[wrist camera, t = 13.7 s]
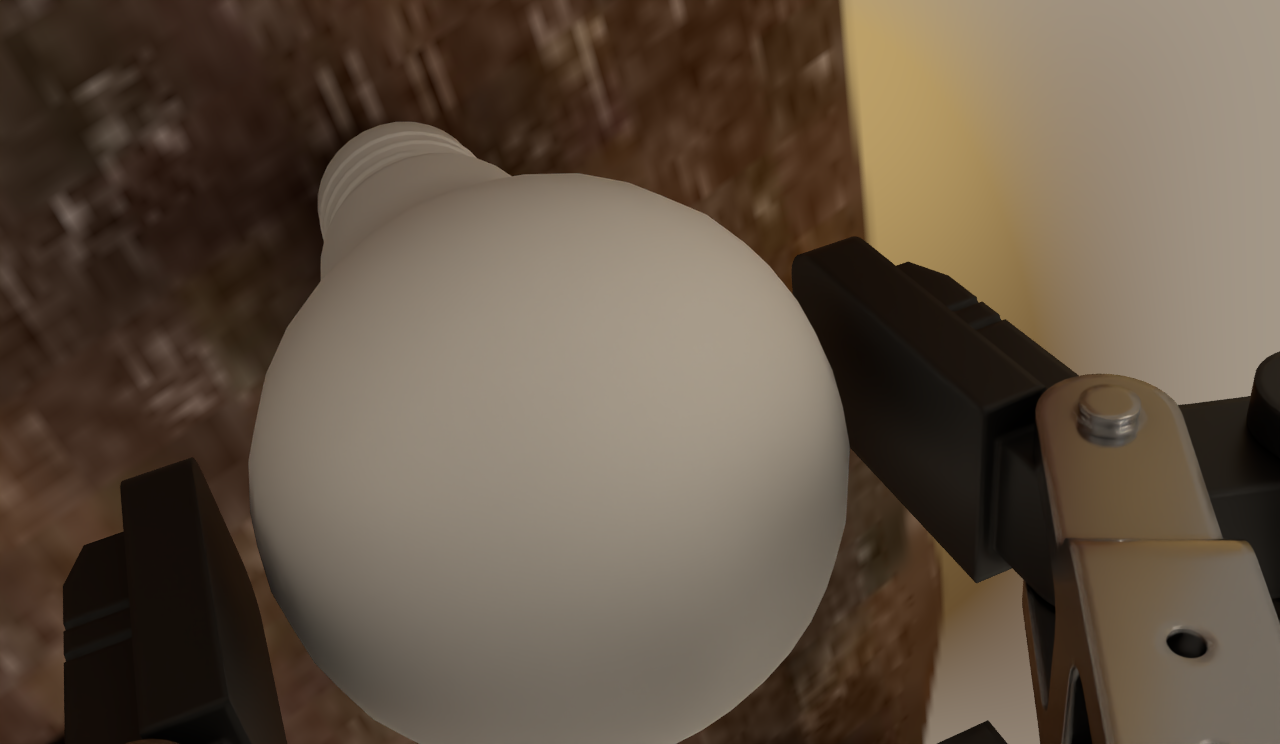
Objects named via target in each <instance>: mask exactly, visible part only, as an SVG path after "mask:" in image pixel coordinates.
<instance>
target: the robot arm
mask: <svg viewBox="0 0 1280 744" xmlns="http://www.w3.org/2000/svg"><path fill="white" fill-rule="evenodd" d="M792 288H793V296H794V297H795V298H796V299H797V301H798V302H799V304H800V306H801V308H802V310H803V311H804V313H805V315H806V317H807V318H808V320H809V322H810V324H811V326H812V327H813V329H814V331H815V333H816V335H817V337H818V340H819V342H820V344H821V346H822V348H823V351H824V353H825V355H826V357H827V359H828V362H829V364H830V366H831V368H832V370H833V374H834V377H835V381H836V384H837V388H838V391H839V395H840V398H841V402H842V406H843V411H844V416H845V422H846V427H847V433H848V439H849V444H850V448H851V449H852V450H853V451H854V452H855V453H856V454H857V456H858V457H859V458H860V459H861V460H862V461H863V462H864V463H865V464H866V465H867V466H868V467H869V468H870V470H871V471H872V472H873V473H874V474H875V475H876V476H877V477H878V478H879V479H880V480H881V481H882V482H883V484H884V485H885V486H886V487H887V488H888V489H889V490H890V491H891V492H892V493H893V494H894V495H895V496H896V498H897V499H898V500H899V501H900V502H901V503H902V504H903V505H904V506H905V507H906V508H907V509H908V510H909V512H910V513H911V514H912V515H913V516H914V517H915V518H916V519H917V520H918V521H919V522H920V523H921V524H922V525H923V527H924V528H925V529H926V530H927V531H928V532H929V533H930V534H931V535H932V536H933V537H934V538H935V539H936V541H937V542H938V543H939V544H940V545H941V546H942V547H943V548H944V549H945V550H946V551H947V552H948V553H949V555H950V556H951V557H953V559H954V560H955V561H956V562H957V563H958V564H959V565H960V566H961V567H962V568H963V570H964V571H965V572H966V573H967V574H968V575H969V576H970V577H971V578H972V579H973V580H974V581H975V583H979V582H981V581H983V580H986V579H988V578H990V577H993V576H995V575H997V574H1000V573H1002V572H1004V571H1007V570H1009V569H1011V568H1013V569H1014V570H1015V571H1016V572H1017V573H1018V574H1019V575H1020V576H1021V577H1022V578H1023V579H1024V581H1023V595H1022V596H1023V597H1022V606H1023V615H1024V622H1025V630H1026V637H1027V645H1028V652H1029V659H1030V667H1031V675H1032V682H1033V690H1034V697H1035V704H1036V712H1037V720H1038V728H1039V736H1040V744H1280V352H1277V353H1275V354H1273V355H1271V356H1269V357H1267V358H1266V359H1265V360H1264V361H1263V362H1262V363H1261V364H1260V365H1259V367H1258V368H1257V370H1256V373H1255V378H1254V382H1253V387H1252V393H1251V396H1248V397H1241V398H1233V399H1225V400H1217V401H1210V402H1202V403H1195V404H1185V405H1177V404H1176V403H1175V401H1174V400H1173V399H1172V398H1171V397H1170V396H1168V395H1167V394H1166V393H1165V392H1163V391H1162V390H1160V389H1158V388H1157V387H1155V386H1152V385H1151V384H1149V383H1146V382H1144V381H1141V380H1137V379H1134V378H1130V377H1126V376H1120V375H1112V374H1087V375H1081V376H1079V375H1077V374H1076V373H1075V372H1073V371H1072V370H1071V369H1070V368H1068V367H1067V366H1066V365H1064V364H1063V363H1062V362H1060V361H1059V360H1058V359H1056V358H1055V357H1054V356H1053V355H1051V354H1050V353H1048V352H1047V351H1046V350H1045V349H1043V348H1042V347H1041V346H1040V345H1038V344H1037V343H1036V342H1034V341H1033V340H1031V339H1030V338H1029V337H1028V336H1026V335H1025V334H1024V333H1023V332H1021V331H1020V330H1018V329H1017V328H1016V327H1015V326H1013V325H1012V324H1011V323H1010V322H1008V321H1007V320H1001V319H1000V315H999V314H998V313H996V312H995V311H994V310H993V309H991V308H990V307H989V306H987V305H986V304H985V303H983V302H980V303H978V301H977V297H976V296H974V295H973V294H971V293H970V292H969V291H968V290H966V289H965V288H964V287H963V286H961V285H960V284H959V283H957V282H956V281H955V280H953V279H952V278H951V277H949V276H948V275H945V274H942V273H939V272H936V271H934V270H930V269H928V268H925V267H922V266H919V265H916V264H913V263H910V262H906V263H903V264H900V265H897V266H895V265H894V264H893V263H892V262H890V261H889V260H888V259H887V258H885V257H884V256H883V255H882V254H880V253H879V252H878V251H877V250H875V249H874V248H873V247H872V246H870V245H869V244H868V243H867V242H865V241H864V240H863V239H861V238H859V237H850V238H847V239H844V240H841V241H838V242H835V243H832V244H829V245H826V246H823V247H820V248H817V249H814V250H812V251H809V252H806V253H803V254H800V255H797V256H796V257H795V259H794V261H793V264H792ZM120 489H121V503H122V516H123V529H124V532H121V533H118V534H115V535H113V536H110V537H107V538H104V539H101V540H98V541H95V542H92V543H89V544H87V545H84V546H83V548H82V550H81V552H80V554H79V556H78V558H77V560H76V562H75V564H74V566H73V568H72V570H71V571H70V573H69V575H68V577H67V579H66V581H65V583H64V585H63V624H64V626H65V629H66V631H64V656H65V659H66V662H65V663H64V713H65V744H287V741H286V736H285V731H284V727H283V722H282V717H281V712H280V707H279V702H278V697H277V692H276V687H275V682H274V678H273V673H272V668H271V663H270V658H269V653H268V648H267V643H266V638H265V633H264V629H263V624H262V619H261V615H260V611H259V607H258V604H257V600H256V597H255V594H254V591H253V588H252V585H251V582H250V579H249V577H248V574H247V571H246V569H245V566H244V564H243V562H242V559H241V557H240V555H239V553H238V551H237V548H236V546H235V544H234V542H233V539H232V537H231V535H230V533H229V531H228V528H227V526H226V524H225V522H224V519H223V517H222V515H221V513H220V511H219V508H218V506H217V504H216V502H215V499H214V497H213V495H212V493H211V491H210V488H209V486H208V484H207V482H206V479H205V477H204V475H203V473H202V471H201V469H200V467H199V465H198V463H197V462H196V460H195V459H194V458H193V457H192V458H189V459H186V460H183V461H180V462H177V463H174V464H171V465H168V466H165V467H162V468H159V469H156V470H153V471H150V472H147V473H144V474H141V475H138V476H135V477H132V478H129V479H126V480H123V481H122V482H121V486H120ZM938 744H1007V743H1006V741H1005V740H1004V739H1003V738H1002V737H1001V735H1000V734H999V733H998V732H997V730H995V728H994V727H993V726H992V724H991V723H990V722H989V721H986V722H983V723H981V724H979V725H977V726H975V727H972V728H970V729H968V730H966V731H964V732H962V733H959V734H957V735H955V736H953V737H950V738H948V739H946V740H944V741H942V742H940V743H938Z"/></svg>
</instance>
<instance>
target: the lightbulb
mask: <svg viewBox="0 0 1280 744" xmlns="http://www.w3.org/2000/svg"><path fill="white" fill-rule="evenodd" d="M318 215H319V219H320V227H321V232H322V237H323V240H324V245H323V249H322V254H321V281H320V283H319V284H318V286H317V287H316V288H315V290H314V291H313V292H312V294H311V295H310V297H309V298H308V299H307V301H306V302H305V303H304V305H303V306H302V308H301V309H300V310H299V312H298V313H297V314H296V316H295V317H294V318H293V320H292V321H291V323H290V324H289V325H288V327H287V329H286V331H285V333H284V336H283V338H282V340H281V342H280V344H279V347H278V349H277V351H276V353H275V355H274V357H273V360H272V362H271V364H270V366H269V368H268V371H267V373H266V375H265V380H264V384H263V389H262V394H261V399H260V404H259V408H258V413H257V418H256V423H255V428H254V433H253V439H252V445H251V450H250V456H249V461H248V465H249V493H250V514H251V518H252V523H253V528H254V533H255V537H256V542H257V546H258V550H259V553H260V556H261V560H262V563H263V566H264V570H265V573H266V576H267V579H268V583H269V586H270V589H271V592H272V594H273V596H274V597H275V599H276V601H277V603H278V604H279V606H280V608H281V609H282V611H283V613H284V614H285V616H286V618H287V620H288V621H289V623H290V625H291V626H292V628H293V629H294V631H295V633H296V634H297V636H298V637H299V639H300V641H301V642H302V644H303V645H304V647H305V648H306V650H307V652H308V653H309V655H310V656H311V658H312V659H313V661H314V663H315V664H316V665H317V666H318V667H319V668H320V669H321V670H322V671H323V672H324V673H325V674H326V675H327V676H328V677H329V678H330V679H331V680H332V681H333V682H334V683H335V684H336V685H337V686H338V687H339V688H340V689H341V690H342V691H343V692H344V693H345V694H346V695H347V696H348V697H349V698H351V699H352V700H353V701H354V702H355V703H356V704H357V705H358V706H359V707H360V708H362V709H363V710H364V711H365V712H366V713H367V714H368V715H369V716H370V717H371V718H372V719H374V720H375V721H377V722H379V723H381V724H383V725H385V726H387V727H388V728H390V729H392V730H394V731H396V732H398V733H400V734H402V735H403V736H405V737H407V738H409V739H411V740H413V741H415V742H417V743H419V744H676V743H678V742H680V741H682V740H684V739H686V738H688V737H690V736H692V735H694V734H696V733H698V732H700V731H701V730H703V729H704V728H706V727H707V726H709V725H710V724H712V723H713V722H715V721H716V720H718V719H719V718H721V717H722V716H724V715H725V714H727V713H728V712H729V711H731V710H732V709H733V708H735V707H736V706H737V705H738V704H739V703H740V702H741V701H743V700H744V699H745V698H746V697H747V696H748V695H749V694H751V693H752V692H753V691H754V690H755V689H756V688H758V687H759V686H760V685H761V684H762V683H763V682H764V681H765V680H766V679H767V678H768V677H769V676H770V675H771V674H772V672H773V671H774V670H775V669H776V668H777V667H778V666H779V665H780V663H781V662H782V661H783V660H784V659H785V658H786V657H787V656H788V654H789V653H790V652H791V651H792V649H793V648H794V646H795V645H796V643H797V642H798V640H799V639H800V637H801V636H802V634H803V633H804V631H805V630H806V628H807V627H808V625H809V624H810V622H811V621H812V618H813V616H814V614H815V612H816V610H817V608H818V606H819V603H820V601H821V599H822V597H823V595H824V593H825V590H826V588H827V585H828V582H829V579H830V576H831V573H832V570H833V567H834V563H835V560H836V557H837V553H838V549H839V545H840V542H841V538H842V534H843V530H844V526H845V523H846V508H847V490H848V472H849V453H850V444H849V439H848V433H847V427H846V422H845V416H844V411H843V406H842V402H841V398H840V395H839V391H838V388H837V384H836V381H835V377H834V374H833V370H832V368H831V366H830V364H829V362H828V359H827V357H826V355H825V353H824V351H823V348H822V346H821V344H820V342H819V340H818V337H817V335H816V333H815V331H814V329H813V327H812V326H811V324H810V322H809V320H808V318H807V317H806V315H805V313H804V311H803V310H802V308H801V306H800V304H799V302H798V301H797V299H796V298H795V297H794V296H793V294H792V293H791V292H790V291H789V290H788V288H787V287H786V286H785V285H784V283H783V282H782V281H781V280H780V279H779V277H778V276H777V275H776V274H775V272H774V271H773V270H772V269H771V267H770V266H769V265H768V264H767V263H766V262H765V261H764V260H763V259H761V258H760V257H759V256H758V255H757V254H756V253H755V252H754V251H753V250H752V249H751V248H750V247H749V246H748V245H746V244H745V243H744V242H743V241H742V240H740V239H739V238H738V237H736V236H735V235H733V234H732V233H731V232H729V231H728V230H727V229H725V228H724V227H723V226H721V225H720V224H719V223H717V222H716V221H714V220H713V219H712V218H710V217H709V216H708V215H706V214H704V213H702V212H699V211H697V210H694V209H692V208H690V207H687V206H685V205H682V204H680V203H678V202H675V201H673V200H670V199H668V198H666V197H663V196H661V195H659V194H656V193H654V192H651V191H648V190H646V189H643V188H641V187H638V186H636V185H633V184H631V183H628V182H624V181H618V180H612V179H607V178H601V177H596V176H590V175H585V174H579V173H567V174H524V175H518V176H510V175H509V174H507V173H506V172H504V171H503V170H501V169H500V168H498V167H497V166H495V165H493V164H490V163H488V162H485V161H483V160H480V159H478V158H476V157H475V156H474V155H473V153H472V152H471V151H470V150H468V149H467V148H465V147H464V146H462V145H461V144H460V143H459V142H458V141H457V140H456V139H455V138H454V137H452V136H451V135H449V134H448V133H446V132H445V131H443V130H440V129H438V128H435V127H433V126H431V125H427V124H422V123H417V122H393V123H388V124H382V125H378V126H376V127H373V128H371V129H368V130H366V131H364V132H362V133H360V134H359V135H357V136H356V137H354V138H353V139H351V140H349V141H348V142H347V143H346V144H345V145H344V146H343V147H342V148H341V149H340V150H339V151H338V152H337V153H336V154H335V156H334V157H333V159H332V160H331V161H330V163H329V164H328V166H327V168H326V170H325V173H324V175H323V177H322V179H321V183H320V187H319V192H318Z"/></svg>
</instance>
